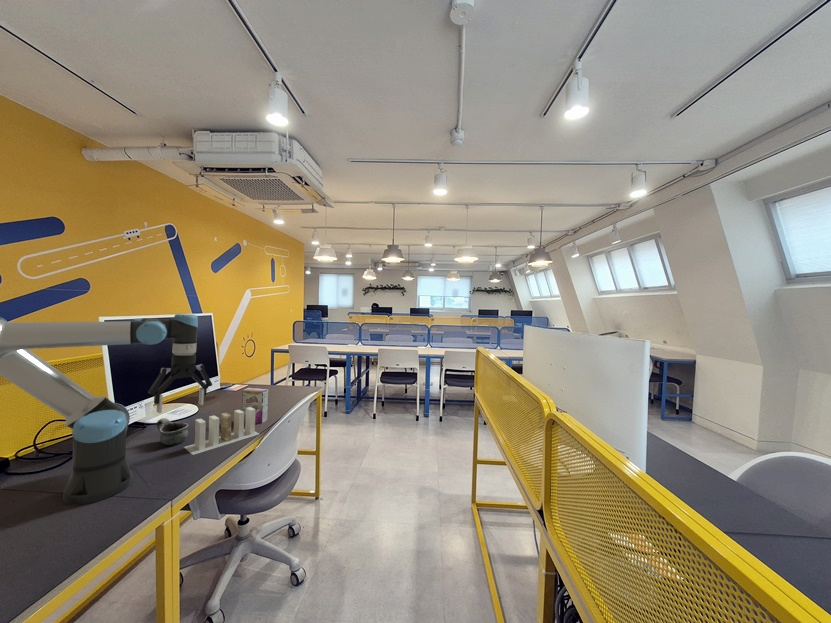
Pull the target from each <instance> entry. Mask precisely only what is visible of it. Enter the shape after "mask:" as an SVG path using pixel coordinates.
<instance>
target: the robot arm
mask: <svg viewBox="0 0 831 623" xmlns="http://www.w3.org/2000/svg"><path fill="white" fill-rule="evenodd" d="M198 321H199V318H198V316H197V315H196V314H187V313H185V314H184V313H181V314H179V313H177V314H174V317H173V318H169V319H167V318H166V319H165V318H146V317H143V318H133V319H132V320H129V321H126V320H125V321H122V320H121V321H58V322H57V321H53V322H52V321H48V322H47V321H46V322H45V321H43V322H40V321H39V322H35V321H34V322H33V321H32V322H9V321H7V320H6V319H5V318H3V317H1V316H0V376H1V377H2V378H4V379H5V380H7V381H9V382H10V383H12V384H13V385H15V386H16V387H18V388H20V389H21V391H22V390H23V391H24V392H26V393H27V394H28V395H31V397H33V398H35V399H36V400H38V401H39V402H41V403H43V405H45V406H47V407H49V408H50V409H52V410H53V411H54V412H56V413H58V414H59V415H61V416H63V418H65V427H66V426H67V427H68V428H70V430H72V431H71V435H72V471H71V473H70V476H69V478H68V481H67V483H66V485H65V488H64V490H63V493H62V501H63V502H64V503H65V504H67V505H72V506H73V505H85V504H90V503H91V504H92V503H95V502H98V501H101V500H102V501H103V500H105V499H107V498H110V497H112V496H114V495H117V494H119V493H121V492H122V491H124V490H127V488H128V487H130V486H131V485H132V482H133V473H132V470H131V468H130V466H129V464H128V462H127V460H126V453H127V452H126V449H127V448H126V447H127V446H126V445H127V444H126V443H127V441H126V440H127V431H128V427H129V423H130V420H131V418H130V417H131V416H130V412H129V411H128V409H127V407H126V406H125V405H123V404H120V403H117V402H113V401H111V400H110V399H109V398H107V397H106V396H104V395H103V396H102V395H101V396H94V394H92V393H90V392H89V391H88V390H86V389H85V388H84V387H82V386H81V385H80V384H78V383H76V382H75V381H74V380H73V379H71V378H69V377H68V376H67V375H65V374H64V373H63V372H61V371H59V370H58V369H57V368H55V367H54V366H53V365H51V364H49V363H48V362H47V361H45V360H44V359H42V358H41V357H40V356H38V355H37V354H36V353H34V352H33V351H32V350H39V349H59V348H78V347H98V346H99V347H101V346H117V345H139V344H140V345H150V346H151V345H157V344H160V343H161V342H162V341H163V340H170V339H171V340H172V351H171V353H172V355H171V362H170V363H171V366H170V367H160V369H159V370H160V371H159V374H158V375H157V377H156V378H155V380H154V382H153V383H152V385H151V386H150V388H149V389H148V391H147V393H148V394H149V395H152V396H153V404H155V405H156V412H157V413H158V414H161V413H162V412H163V411H162V410H163V394H162V393H163V392H164V391H166V389H167V388H168V387H169V386H170V385H171V384H172V383H173V382H174V381H175V380H177V379H185V378H186V379H187V378H190V377H191V379H193V380H194V381H195V382H196V383H197V384H198V385H199V386H200V387H199V390H198V391H199V392H198V405H200V406H203V405H204V401H205V400H204V399H205V398H204V397H206V396H207V394H208V393H207V392H208V391H207V390H208V388H209V387H212V386H213V383H212V380H211V379H210V376H209V375H208V374H207V372H206V367H205V365H204V364H202V363H200V364H197V365H196V360H197V354H196V353H197V344H198V343H197V342H198V341H197V340H198V331H199V330H198V328H199V324H198V323H199V322H198ZM196 370H198V371H199V373H200V375H201V377H202V378H203V380H204V381H203V380H202V379H200V377H198V375H197V374H196V373H195V371H196ZM169 372H170V375H169V376H168V378H167V379H166V380H165V381H164V379H165V377H166V375H167V374H168V373H169ZM162 382H163V383H162Z"/></svg>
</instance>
